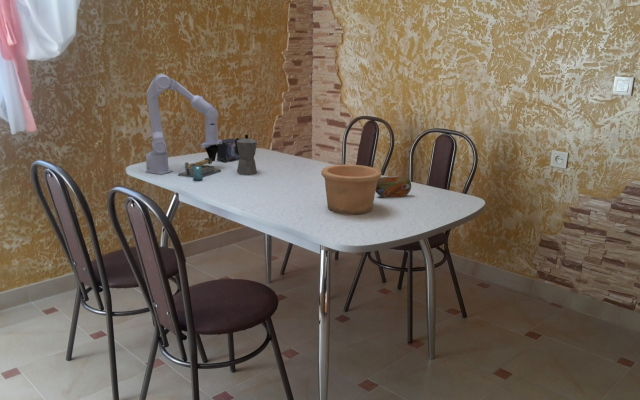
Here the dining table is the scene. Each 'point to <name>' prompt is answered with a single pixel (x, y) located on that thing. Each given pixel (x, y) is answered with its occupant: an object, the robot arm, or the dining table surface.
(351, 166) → the pottery
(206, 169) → the dock
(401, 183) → the tin
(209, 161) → the pin
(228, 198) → the dining table surface
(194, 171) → the teal glass cylinder
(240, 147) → the coffeepot
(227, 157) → the small box
